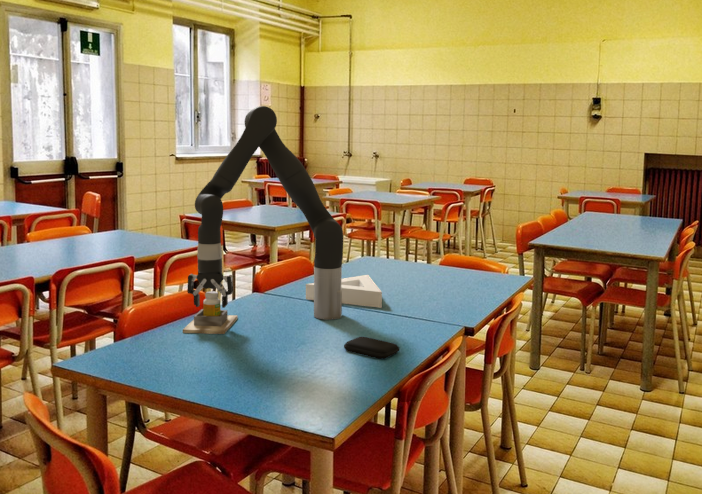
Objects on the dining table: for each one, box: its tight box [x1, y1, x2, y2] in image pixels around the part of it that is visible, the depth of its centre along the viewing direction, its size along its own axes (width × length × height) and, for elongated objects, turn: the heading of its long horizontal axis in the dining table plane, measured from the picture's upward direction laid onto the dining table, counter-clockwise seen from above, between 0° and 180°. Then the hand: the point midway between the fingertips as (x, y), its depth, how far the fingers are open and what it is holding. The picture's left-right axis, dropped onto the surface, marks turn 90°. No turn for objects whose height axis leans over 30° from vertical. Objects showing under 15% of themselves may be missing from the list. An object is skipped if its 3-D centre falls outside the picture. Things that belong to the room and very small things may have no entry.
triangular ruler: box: [305, 274, 383, 309], centre depth 264 cm, size 30×26×6 cm
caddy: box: [182, 308, 238, 335], centre depth 222 cm, size 13×18×4 cm
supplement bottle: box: [202, 290, 222, 316], centre depth 221 cm, size 5×5×10 cm
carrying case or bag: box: [343, 336, 400, 360], centre depth 198 cm, size 11×3×15 cm
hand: (210, 306), depth 221 cm, fingers open, 8 cm apart
